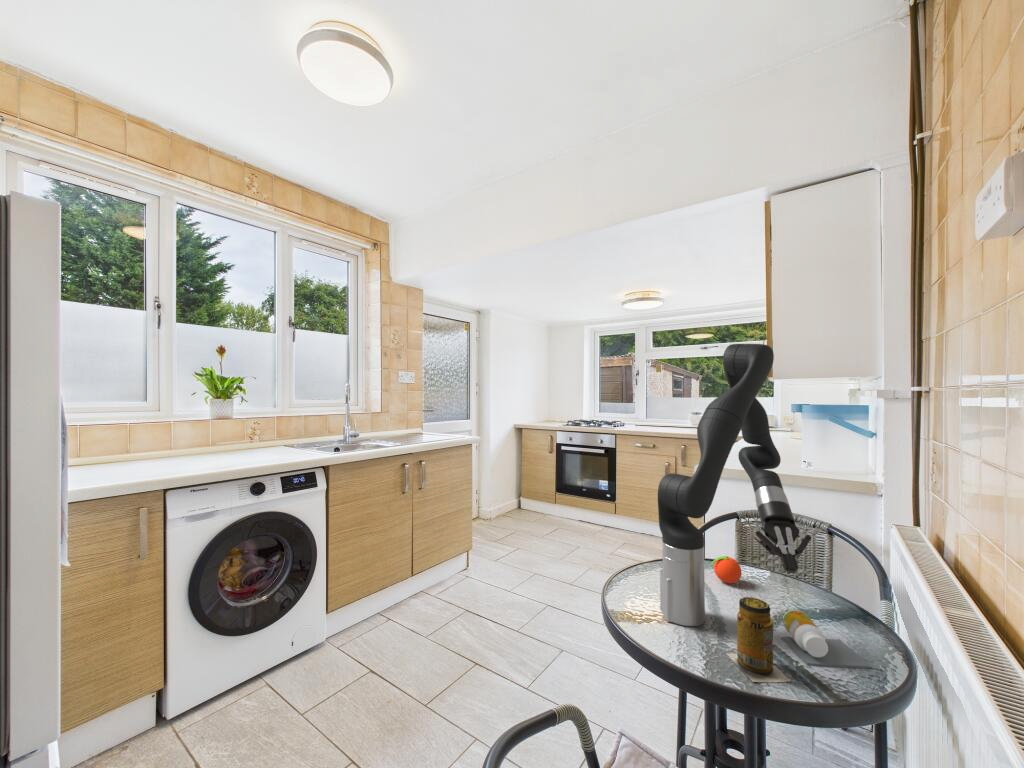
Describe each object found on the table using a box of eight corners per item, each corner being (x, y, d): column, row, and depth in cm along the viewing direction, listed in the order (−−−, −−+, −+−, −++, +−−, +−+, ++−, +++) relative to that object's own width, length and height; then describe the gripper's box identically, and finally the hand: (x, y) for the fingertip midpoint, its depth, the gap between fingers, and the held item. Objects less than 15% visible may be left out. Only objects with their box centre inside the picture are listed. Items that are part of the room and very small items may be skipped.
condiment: (761, 653, 85) (760, 594, 85) (791, 682, 77) (790, 615, 77) (726, 654, 85) (725, 594, 85) (752, 683, 76) (751, 616, 77)
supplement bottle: (814, 619, 91) (838, 645, 81) (800, 639, 91) (822, 667, 82) (790, 603, 92) (811, 627, 82) (776, 623, 92) (795, 649, 83)
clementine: (716, 587, 114) (716, 561, 115) (706, 576, 121) (705, 551, 122) (746, 588, 114) (746, 561, 114) (734, 577, 121) (733, 552, 121)
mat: (806, 665, 81) (806, 663, 81) (780, 638, 90) (780, 636, 90) (872, 668, 80) (872, 666, 80) (839, 641, 89) (839, 639, 89)
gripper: (748, 498, 111) (764, 562, 99) (805, 501, 108) (829, 568, 96) (743, 512, 116) (757, 575, 104) (797, 516, 113) (819, 581, 101)
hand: (792, 572), depth 100 cm, fingers closed
